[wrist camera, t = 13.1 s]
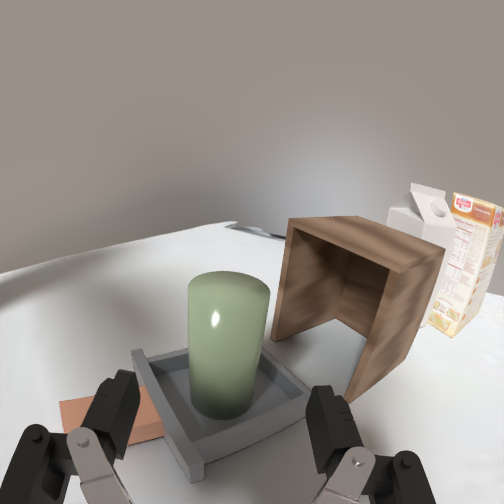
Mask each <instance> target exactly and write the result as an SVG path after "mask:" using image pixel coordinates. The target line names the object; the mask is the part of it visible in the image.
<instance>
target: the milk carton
mask: <svg viewBox="0 0 504 504" xmlns="http://www.w3.org/2000/svg"><path fill="white" fill-rule="evenodd" d="M445 193H446V192H445V191H442V190H438V189H434V188H430V187H427V186H423V185H419V184H415V183H411V189H410V192H408V193H407V194H406V195H405V196H404V197H402V198H401V199H400V200H399V201H397V202H396V203H395V204H394V205H392V206H391V207H390V209H389V215H388V219H387V224H386V226H387V227H390V228H393V229H396V230H398V231H401V232H404V233H407V234H409V235H412V236H415V237H417V238H420V239H422V240H425V241H428V242H430V243H433V244H435V245H438V246H440V247H443V248H445V249H446V251H445V254H444V258H443V261H442V265H441V268H440V271H439V274H438V277H437V281H436V284H435V287H434V290H433V292H432V295H431V298H430V301H429V304H428V306H427V309H426V312H425V314H424V317H423V319H422V322H421V324H420V327H419V328H422V327H425V326H426V324H427V321H428V319H429V316H430V314H431V311H432V309H433V306H434V303H435V301H436V298H437V295H438V292H439V289H440V286H441V283H442V280H443V277H444V274H445V271H446V268H447V265H448V261H449V258H450V254H451V251H452V247H453V243H454V239H455V235H456V231H457V225H456V222H455V220H454V218H453V216H452V214H451V212H450V209H449V207H448V205H447V203H446V202H445V199H444V198H445Z"/></svg>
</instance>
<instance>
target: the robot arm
mask: <svg viewBox="0 0 504 504" xmlns="http://www.w3.org/2000/svg"><path fill="white" fill-rule="evenodd" d="M140 399H141V396H140V390H139V386H138V381H137V376H136V373H135V372H131V371H126V370H121V369H119V370H118V372H117V374H116V376H115V378H114V379H111V378H107V379H106V380H105V381H104V382H103V383H101V384H100V386H99V388H98V390H97V392H96V394H95V396H94V398H93V401H92V403H91V405H90V407H89V409H88V411H87V413H86V415H85V418H84V420H83V422H82V424H81V426H80V427H79V428H75V429H73V430H72V431H70V432H69V433H67V434H63V433H49V431H48V430H47V429H46V428H45V427H44V426H42V425H39V424H33V425H30V426H28V427H27V428H26V429H25V430H24V432H23V434H22V436H21V439H20V441H19V443H18V445H17V447H16V450H15V452H14V454H13V457H12V459H11V462H10V464H9V467H8V469H7V472H6V474H5V477H4V479H3V482H2V485H1V488H0V504H63V502H64V498H65V495H66V491H67V487H68V483H69V480H70V476H71V475H77V476H79V478H80V480H81V483H80V487H81V490H82V492H83V494H84V496H85V499H86V501H87V503H88V504H135V503H134V502H133V500H132V499H131V497H130V495H129V494H128V492H127V490H126V489H125V487H124V485H123V483H122V481H121V479H120V478H119V476H118V474H117V472H116V470H115V468H114V466H113V464H114V461H115V458H116V459H120V460H123V458H124V454H125V451H126V448H127V444H128V441H129V438H130V434H131V431H132V428H133V425H134V421H135V418H136V415H137V412H138V409H139V406H140ZM306 421H307V426H308V430H309V435H310V439H311V444H312V448H313V453H314V458H315V462H316V467H317V472H318V474H321V473H326V476H327V479H326V481H325V482H324V484H323V485H322V487H321V488H320V490H319V491H318V493H317V494H316V496H315V497H314V499H313V500H312V502H311V503H310V504H359V501H358V498H359V496H360V495H369V500H370V504H436V502H435V499H434V496H433V493H432V491H431V488H430V485H429V482H428V479H427V477H426V474H425V471H424V469H423V466H422V464H421V461H420V459H419V457H418V456H417V455H416V454H415V453H414V452H411V451H406V450H405V451H400V452H398V453H397V454H396V455H395V456H394V457H390V456H378V455H374V454H373V453H372V452H371V451H370V450H369V449H367V448H365V447H364V446H363V443H362V441H361V438H360V435H359V432H358V429H357V427H356V424H355V421H354V420H353V416H352V413H351V410H350V408H349V405H348V403H347V402H346V401H345V400H344V398H343V397H342V396H341V395H339V396H335V395H334V392H333V389H332V387H331V386H330V385H325V386H314V387H313V389H312V392H311V395H310V397H309V400H308V403H307V406H306Z"/></svg>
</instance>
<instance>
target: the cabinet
mask: <svg viewBox="0 0 504 504" xmlns="http://www.w3.org/2000/svg"><path fill="white" fill-rule="evenodd" d="M445 251H446V249H445V248H443V247H440V246H438V245H435V244H433V243H430V242H428V241H425V240H422V239H420V238H417V237H415V236H412V235H409V234H407V233H404V232H401V231H398V230H396V229H393V228H390V227H387V226H384V225H382V224H379V223H376V222H373V221H370V220H367V219H365V218H362V217H359V216H334V217H309V218H289V221H288V228H287V235H286V242H285V249H284V255H283V262H282V269H281V275H280V282H279V288H278V294H277V301H276V307H275V313H274V319H273V325H272V331H271V336H270V338H271V339H272V340H273V341H274V342H276V341H278V340H281V339H284V338H287V337H289V336H292V335H295V334H297V333H300V332H302V331H305V330H308V329H310V328H313V327H315V326H318V325H320V324H323V323H325V322H327V321H330V320H332V319H335V318H336V319H338V320H339V321H341V322H343V323H344V324H346V325H347V326H349V327H350V328H352V329H353V330H355V331H357V332H358V333H360V334H361V335H363V336H364V337H366V338H367V339H368V340H367V342H366V345H365V348H364V350H363V353H362V355H361V358H360V360H359V363H358V365H357V368H356V370H355V373H354V375H353V377H352V380H351V382H350V384H349V386H348V389H347V391H346V393H345V395H344V400H345V401H346V402H347V403H348V404H349V403H351V402H352V401H354V400H355V399H356V398H358V397H359V396H360V395H362V394H363V393H364V392H366V391H367V390H368V389H370V388H371V387H372V386H373V385H375V384H376V383H377V382H378V381H380V380H381V379H382V378H383V377H385V376H386V375H387V374H388V373H389V372H391V371H392V370H393V369H394V368H395V367H397V366H398V365H399V364H400V363H401V362H402V361H403V360H405V358H406V356H407V354H408V352H409V350H410V347H411V345H412V343H413V341H414V338H415V336H416V334H417V331H418V329H419V327H420V324H421V322H422V319H423V317H424V314H425V312H426V309H427V306H428V304H429V301H430V298H431V295H432V292H433V290H434V287H435V284H436V281H437V277H438V274H439V271H440V268H441V265H442V261H443V258H444V254H445Z"/></svg>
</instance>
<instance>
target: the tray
mask: <svg viewBox="0 0 504 504" xmlns="http://www.w3.org/2000/svg"><path fill="white" fill-rule="evenodd" d="M131 355H132V360H133V366H134V371H135V373H136V376H137V380H138V383H139V385H140V387H139V390H140V396H141V399H140V406H139V409H138V412H137V415H136V418H135V421H134V425H133V428H132V431H131V434H130V438H129V441H128V444H127V445H130V444H135V443H139V442H143V441H147V440H150V439H154V438H158V437H161V436H164V438H165V439H166V441H167V443H168V445H169V447H170V449H171V450H172V452H173V454H174V456H175V458H176V459H177V461H178V463H179V464H180V466H181V468H182V469H183V471H184V473H185V474H186V476H187V478H188V479H189V481H190V482H191V484H192V483H195V482H198V481H200V480H203V479H205V476H204V465H205V464H207V463H210V462H212V461H215V460H218V459H220V458H223V457H225V456H227V455H230V454H232V453H234V452H237V451H239V450H241V449H244V448H246V447H248V446H250V445H252V444H254V443H257V442H259V441H261V440H263V439H265V438H267V437H269V436H271V435H273V434H275V433H277V432H279V431H281V430H282V429H284V428H286V427H288V426H290V425H292V424H294V423H295V422H297V421H299V420H301V419H302V418H304V417H306V406H307V403H308V400H309V397H310V395H311V391H310V390H309V389H308V388H307V387H306V386H305V385H303V384H302V383H301V382H300V381H299V380H298V379H297V378H296V377H294V376H293V375H292V374H291V373H290V372H289V371H288V370H287V369H286V368H284V367H283V366H282V365H281V364H280V363H279V362H278V361H277V360H276V359H275V358H274V357H272V356H271V355H270V354H269V353H268V352H267V351H266V350H265V349H264V348H263V347H262V348H261V354H260V359H259V365H258V371H257V377H256V382H255V388H254V393H253V399H252V404H251V406H250V408H249V409H248V411H247V412H246V413H244V414H243V415H241V416H240V417H237V418H234V419H230V420H216V419H211V418H208V417H206V416H204V415H202V414H201V413H199V412H198V411H197V410H196V409H195V408H194V407H193V405H192V403H191V400H190V387H189V358H188V348H187V349H183V350H179V351H175V352H171V353H167V354H162V355H158V356H154V357H149V358H146V357H145V355H144V353H143V351H142V349H138V350H133V351H131ZM93 398H94V396H91V397H85V398H79V399H73V400H66V401H59V404H60V411H61V417H62V423H63V429H64V434H67V433H69V432H70V431H72V430H73V429H75V428H79V427H80V426H81V424H82V422H83V420H84V418H85V415H86V413H87V411H88V409H89V407H90V405H91V403H92V401H93Z"/></svg>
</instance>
